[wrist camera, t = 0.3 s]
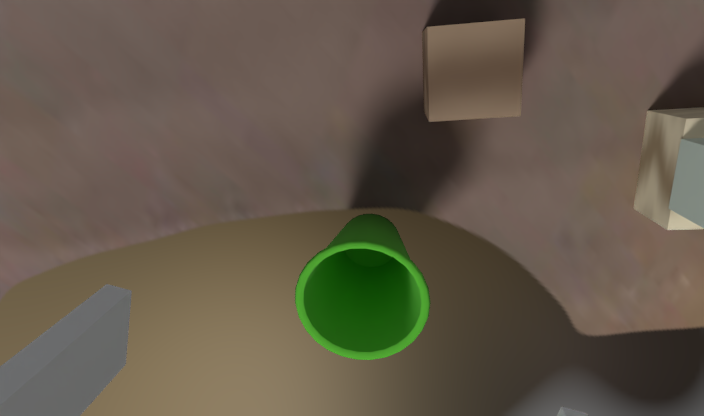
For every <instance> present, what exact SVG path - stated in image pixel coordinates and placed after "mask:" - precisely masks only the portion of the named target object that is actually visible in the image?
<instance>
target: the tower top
mask: <svg viewBox="0 0 704 416" xmlns="http://www.w3.org/2000/svg"><path fill="white" fill-rule="evenodd" d="M668 209H670V210H672V211H674V212H675V213H677V214H679V215H681V216H683V217H684V218H686V219H688V220H690V221H692V222H693V223H695V224H697V225H699V226H701V227H702V228H704V138H690V139H681V142H680V147H679V153H678V158H677V164H676V169H675V175H674V180H673V186H672V191H671V197H670V202H669V208H668Z"/></svg>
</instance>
